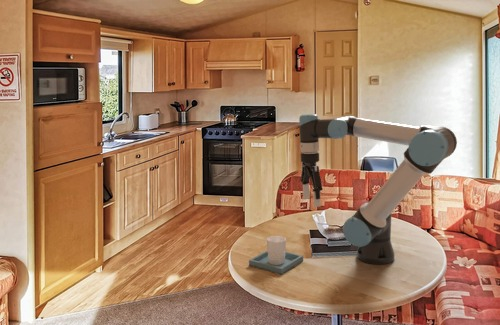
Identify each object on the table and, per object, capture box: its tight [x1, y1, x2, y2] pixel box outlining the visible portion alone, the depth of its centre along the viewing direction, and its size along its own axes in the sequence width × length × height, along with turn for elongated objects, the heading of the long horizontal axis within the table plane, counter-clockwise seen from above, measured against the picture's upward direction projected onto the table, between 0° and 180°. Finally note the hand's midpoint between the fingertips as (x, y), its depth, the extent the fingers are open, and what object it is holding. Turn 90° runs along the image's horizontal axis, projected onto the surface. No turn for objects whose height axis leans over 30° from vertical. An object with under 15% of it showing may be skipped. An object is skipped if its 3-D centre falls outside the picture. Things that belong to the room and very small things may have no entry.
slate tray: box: [248, 250, 304, 275], centre depth 195 cm, size 16×16×2 cm
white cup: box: [266, 235, 287, 265], centre depth 194 cm, size 8×8×10 cm
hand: (311, 202), depth 198 cm, fingers open, 13 cm apart
